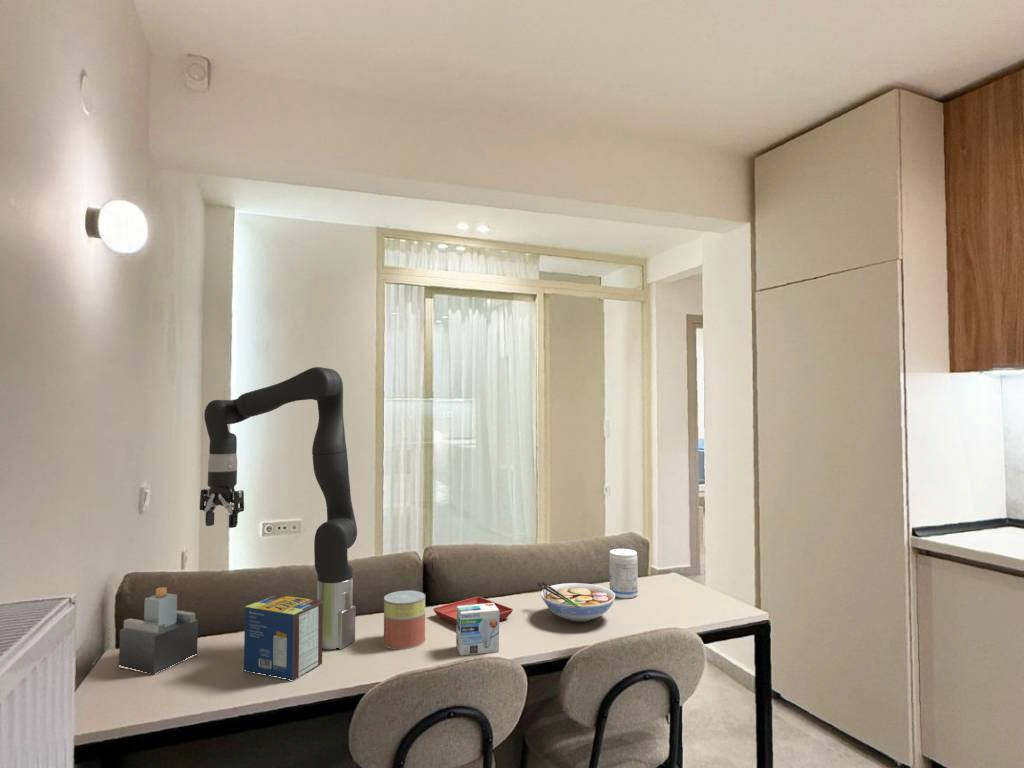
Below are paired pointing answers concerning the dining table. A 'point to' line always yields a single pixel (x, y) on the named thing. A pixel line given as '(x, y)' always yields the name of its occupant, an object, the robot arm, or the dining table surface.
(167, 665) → the grey ridged block
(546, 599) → the ramen bowl
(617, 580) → the supplement tub
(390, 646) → the canned food
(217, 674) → the dining table surface
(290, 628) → the protein box
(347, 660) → the dining table surface
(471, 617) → the light bulb box
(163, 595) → the block
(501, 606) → the plant saucer
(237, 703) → the dining table surface
